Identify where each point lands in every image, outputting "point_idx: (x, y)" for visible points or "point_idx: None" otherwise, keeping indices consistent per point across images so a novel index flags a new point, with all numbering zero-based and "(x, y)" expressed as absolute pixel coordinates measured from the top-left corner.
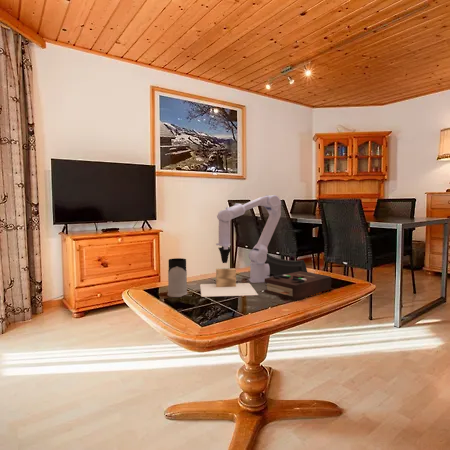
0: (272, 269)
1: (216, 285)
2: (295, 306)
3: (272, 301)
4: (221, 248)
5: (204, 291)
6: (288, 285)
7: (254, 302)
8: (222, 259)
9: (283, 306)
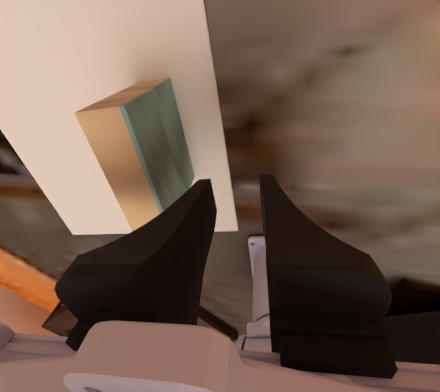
0: (403, 334)
1: (143, 83)
2: (28, 280)
3: (39, 252)
4: (121, 307)
5: (16, 11)
6: (53, 316)
7: (4, 215)
8: (183, 197)
9: (13, 263)
